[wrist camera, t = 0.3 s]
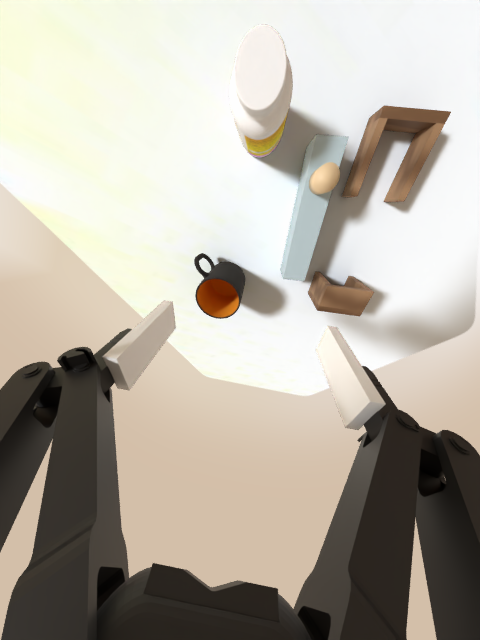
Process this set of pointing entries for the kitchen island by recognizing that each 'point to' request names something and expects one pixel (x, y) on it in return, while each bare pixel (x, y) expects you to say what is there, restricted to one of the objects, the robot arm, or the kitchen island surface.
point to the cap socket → (339, 295)
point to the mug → (220, 288)
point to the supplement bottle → (261, 90)
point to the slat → (311, 202)
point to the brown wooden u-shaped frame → (427, 132)
